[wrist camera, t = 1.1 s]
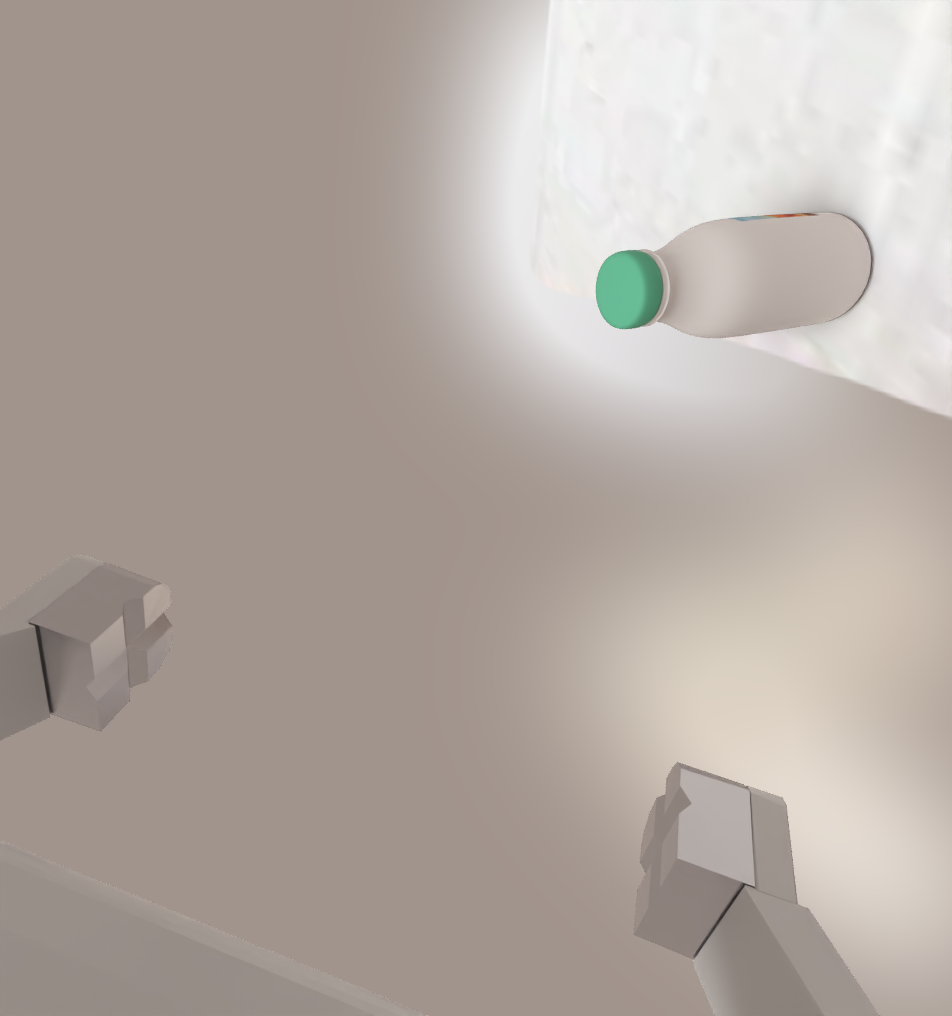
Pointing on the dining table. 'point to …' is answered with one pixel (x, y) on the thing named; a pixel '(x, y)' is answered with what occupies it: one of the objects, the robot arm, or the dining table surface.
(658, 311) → the milk bottle
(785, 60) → the dining table surface
